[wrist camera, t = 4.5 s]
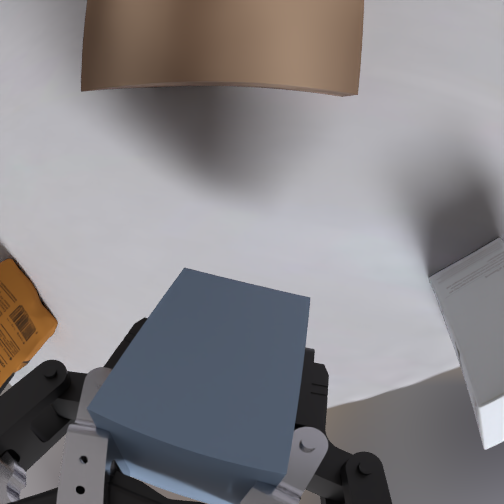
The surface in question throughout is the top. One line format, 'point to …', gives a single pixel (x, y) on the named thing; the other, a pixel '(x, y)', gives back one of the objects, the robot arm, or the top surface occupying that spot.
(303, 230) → the top surface
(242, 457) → the slate block
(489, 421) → the supplement box
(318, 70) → the walnut box
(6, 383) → the milk frother
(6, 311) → the coffee package
